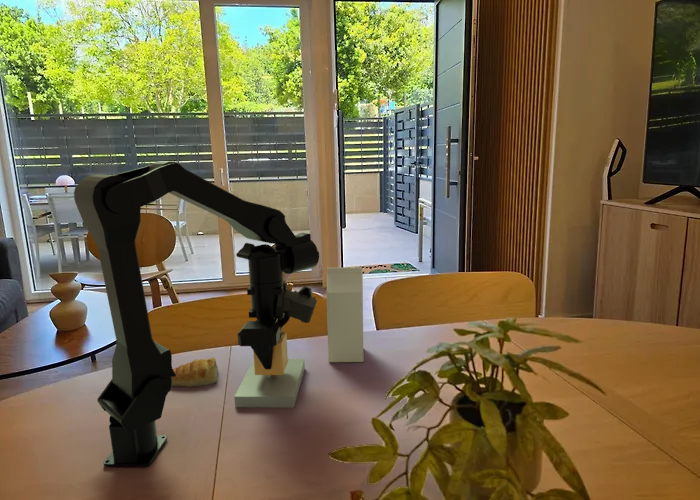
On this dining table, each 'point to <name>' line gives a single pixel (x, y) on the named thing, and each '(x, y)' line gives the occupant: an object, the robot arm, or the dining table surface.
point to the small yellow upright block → (274, 359)
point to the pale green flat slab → (271, 387)
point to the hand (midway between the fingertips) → (271, 362)
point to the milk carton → (345, 314)
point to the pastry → (196, 373)
